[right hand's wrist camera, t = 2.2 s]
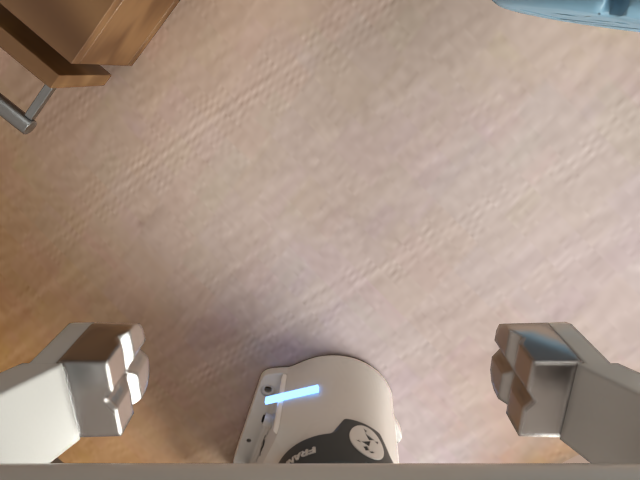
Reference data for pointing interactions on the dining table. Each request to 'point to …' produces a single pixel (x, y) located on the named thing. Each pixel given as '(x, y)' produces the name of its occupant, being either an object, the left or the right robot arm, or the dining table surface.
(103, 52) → the cabinet
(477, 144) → the dining table surface
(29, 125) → the drawer
